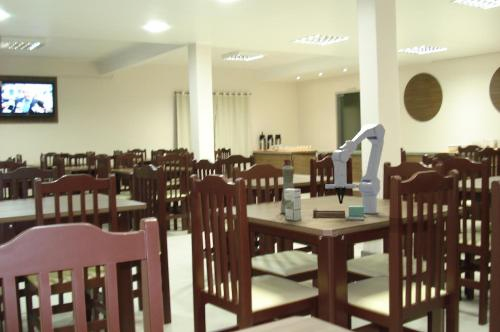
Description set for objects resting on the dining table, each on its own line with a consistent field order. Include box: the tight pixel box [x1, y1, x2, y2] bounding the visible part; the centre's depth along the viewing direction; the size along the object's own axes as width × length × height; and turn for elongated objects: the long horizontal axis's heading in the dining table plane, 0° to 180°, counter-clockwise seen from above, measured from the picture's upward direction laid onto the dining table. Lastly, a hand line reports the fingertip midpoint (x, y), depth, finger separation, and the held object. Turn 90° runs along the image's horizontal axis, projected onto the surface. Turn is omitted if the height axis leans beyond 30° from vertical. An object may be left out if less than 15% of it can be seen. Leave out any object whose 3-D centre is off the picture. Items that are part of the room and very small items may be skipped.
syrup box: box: [284, 188, 302, 222], centre depth 251 cm, size 6×6×14 cm
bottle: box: [280, 157, 295, 215], centre depth 273 cm, size 9×9×28 cm
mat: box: [345, 216, 365, 222], centre depth 249 cm, size 8×8×1 cm
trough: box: [312, 207, 346, 219], centre depth 259 cm, size 8×15×4 cm, turn 80°
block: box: [348, 205, 365, 218], centre depth 257 cm, size 4×7×5 cm, turn 80°
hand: (340, 203), depth 258 cm, fingers closed
